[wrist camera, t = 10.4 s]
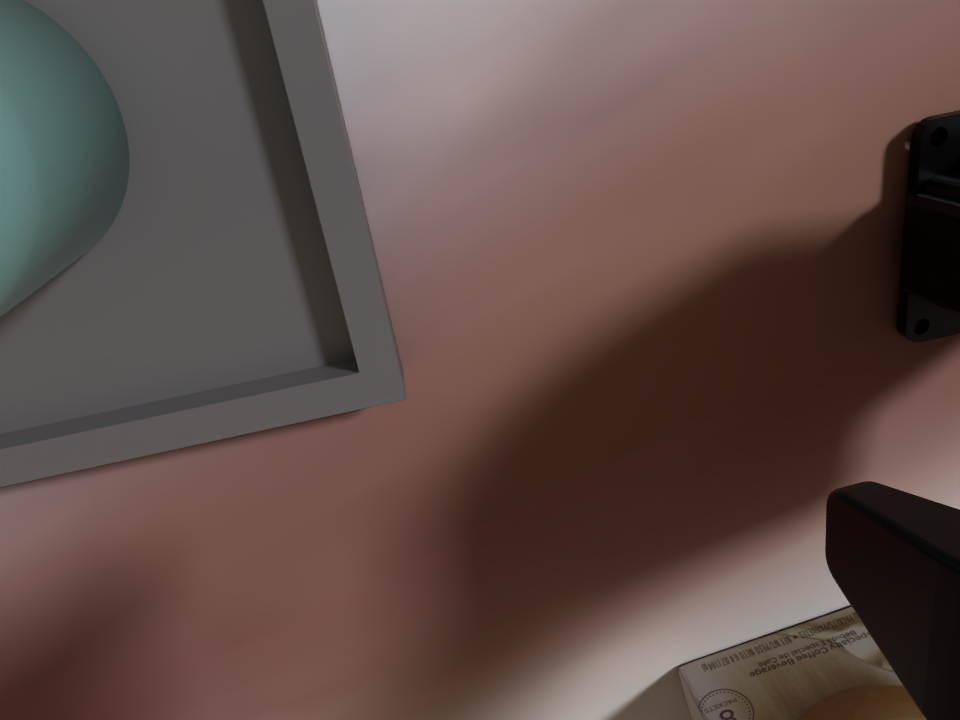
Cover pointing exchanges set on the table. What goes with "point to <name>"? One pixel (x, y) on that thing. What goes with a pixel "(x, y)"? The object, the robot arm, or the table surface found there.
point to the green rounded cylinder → (52, 151)
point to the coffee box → (800, 677)
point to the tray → (204, 249)
